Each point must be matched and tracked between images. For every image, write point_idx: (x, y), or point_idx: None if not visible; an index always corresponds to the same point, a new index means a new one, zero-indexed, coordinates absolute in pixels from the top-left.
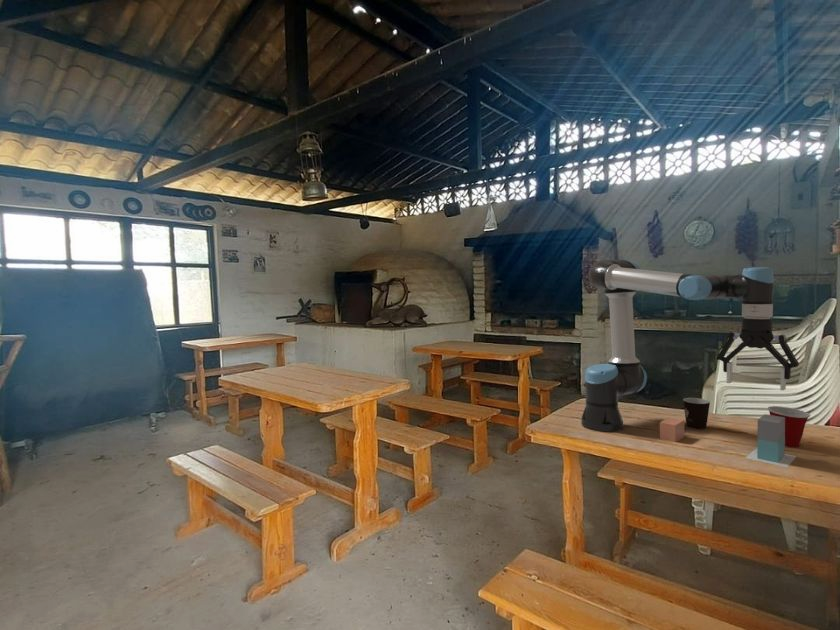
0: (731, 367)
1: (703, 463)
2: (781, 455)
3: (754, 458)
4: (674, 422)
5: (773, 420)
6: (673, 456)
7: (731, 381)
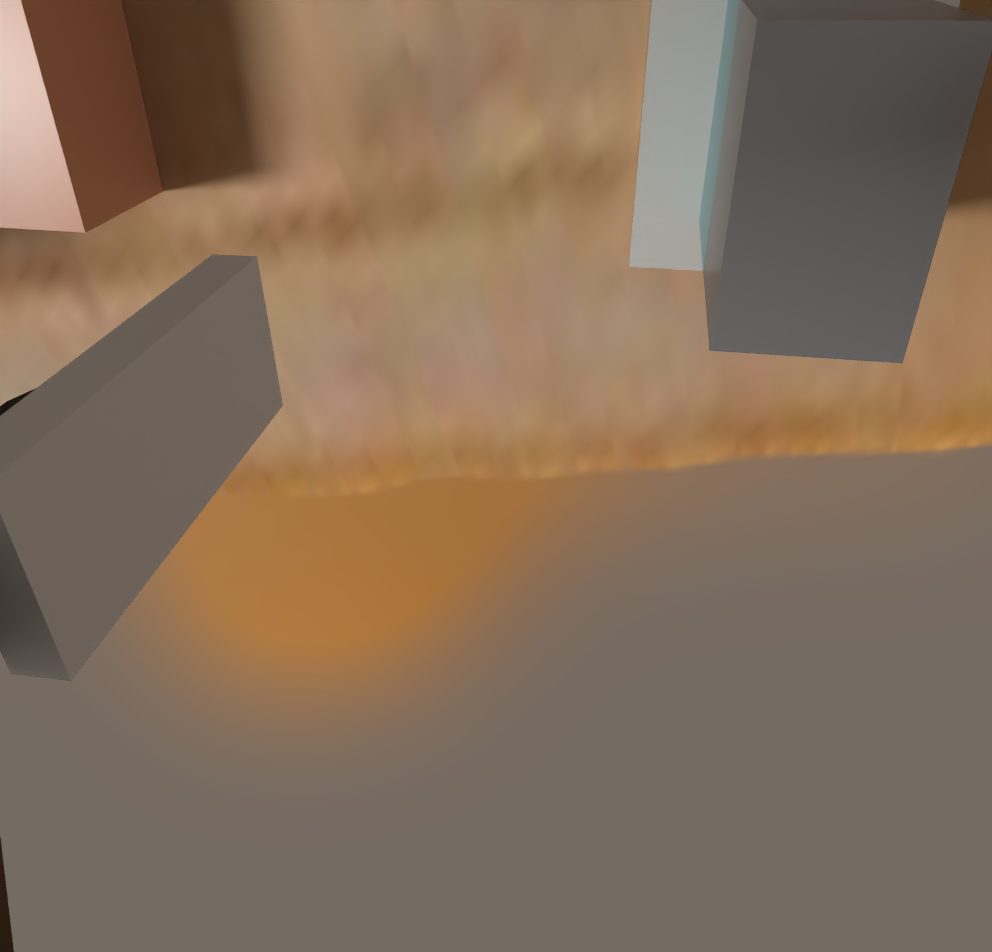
0: (105, 465)
1: (460, 476)
2: None
3: (682, 236)
4: (27, 146)
5: (857, 286)
6: (306, 467)
7: (257, 294)
